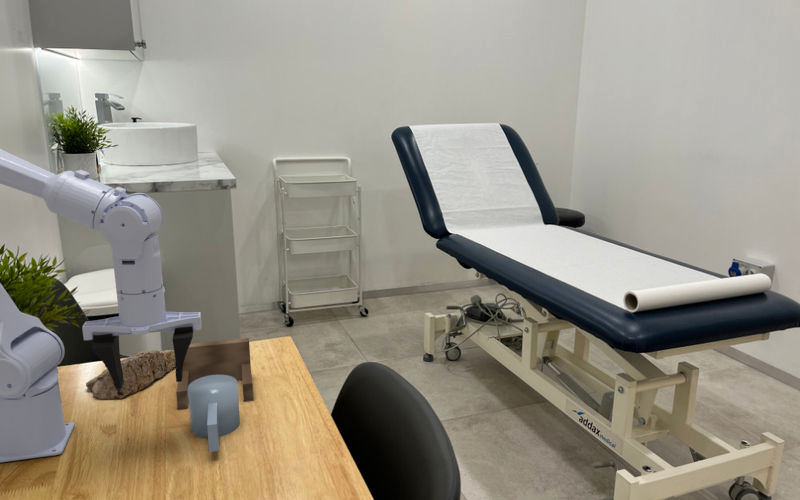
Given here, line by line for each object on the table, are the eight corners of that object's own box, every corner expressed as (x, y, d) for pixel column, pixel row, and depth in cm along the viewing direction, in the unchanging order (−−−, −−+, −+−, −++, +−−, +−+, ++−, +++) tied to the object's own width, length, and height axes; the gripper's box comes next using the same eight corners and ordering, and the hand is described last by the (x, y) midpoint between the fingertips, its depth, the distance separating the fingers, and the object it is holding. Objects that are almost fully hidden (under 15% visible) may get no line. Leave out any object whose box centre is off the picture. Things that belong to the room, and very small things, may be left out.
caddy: (177, 409, 94) (174, 368, 92) (181, 382, 102) (178, 344, 101) (253, 400, 97) (251, 360, 95) (251, 375, 105) (248, 338, 104)
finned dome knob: (187, 465, 80) (183, 421, 78) (192, 416, 92) (188, 377, 90) (241, 457, 82) (238, 414, 80) (239, 410, 94) (236, 372, 92)
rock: (125, 405, 95) (122, 372, 94) (72, 396, 98) (67, 364, 96) (183, 365, 110) (180, 335, 108) (134, 358, 112) (131, 329, 111)
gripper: (71, 302, 73) (85, 402, 77) (196, 292, 77) (204, 388, 81) (84, 285, 80) (96, 378, 83) (198, 277, 84) (205, 366, 87)
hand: (149, 382), depth 82 cm, fingers open, 7 cm apart
